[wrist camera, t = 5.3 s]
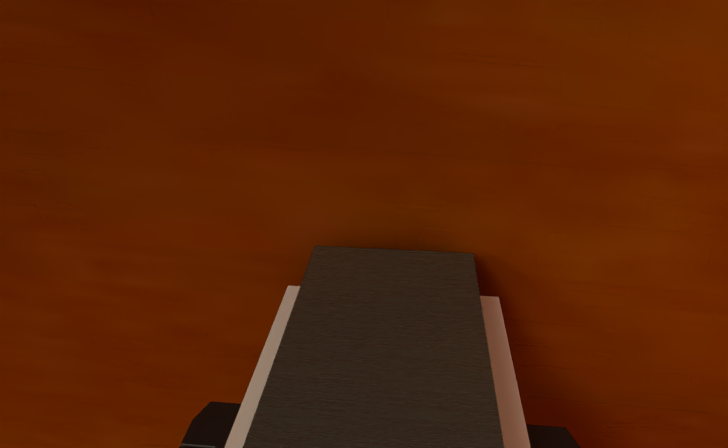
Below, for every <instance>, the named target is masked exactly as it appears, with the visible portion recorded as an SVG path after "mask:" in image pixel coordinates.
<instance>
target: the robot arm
mask: <svg viewBox="0 0 728 448" xmlns="http://www.w3.org/2000/svg"><path fill="white" fill-rule="evenodd" d="M299 289H300V286H288V287H287V289H286V292H285V295H284V297H283V300H282V302H281V305H280V307H279V310H278V312H277V315H276V318H275V320H274V323H273V325H272V328H271V330H270V333H269V335H268V338H267V340H266V343H265V346H264V348H263V351H262V353H261V356H260V358H259V361H258V363H257V366H256V368H255V371H254V374H253V376H252V379H251V381H250V384H249V386H248V389H247V391H246V394H245V396H244V399H243V402H242V404H235V403H222V402H210V403H209V404H208V405H207V406H206V407H205V408H204V409H203V410H202V411H201V412H200V413H199V414H198V415H197V416H196V417H195V418H194V419H193V420H192V422H191V424H190V426H189V428H188V430H187V433H186V435H185V437H184V439H183V441H182V445H181V447H179V448H243V445H244V442H245V440H246V437H247V434H248V431H249V428H250V426H251V423H252V420H253V417H254V414H255V412H256V409H257V406H258V403H259V400H260V398H261V395H262V392H263V389H264V386H265V384H266V381H267V378H268V375H269V372H270V370H271V367H272V364H273V361H274V359H275V356H276V353H277V350H278V347H279V345H280V342H281V339H282V336H283V333H284V331H285V328H286V325H287V322H288V319H289V317H290V314H291V311H292V308H293V305H294V303H295V300H296V297H297V294H298V291H299ZM480 299H481V305H482V311H483V318H484V324H485V330H486V336H487V343H488V349H489V355H490V361H491V368H492V374H493V380H494V386H495V393H496V399H497V405H498V411H499V418H500V424H501V430H502V436H503V443H504V448H580V446H579V445H578V444H577V443H576V441H575V440H574V439H573V437H572V436H571V435H570V433H569V432H568V431H567V429H566V428H564V427H551V426H538V425H526V423H525V419H524V414H523V409H522V404H521V400H520V395H519V390H518V386H517V381H516V376H515V371H514V367H513V362H512V357H511V353H510V348H509V343H508V338H507V334H506V329H505V324H504V319H503V315H502V310H501V305H500V301H499V297H493V296H480Z"/></svg>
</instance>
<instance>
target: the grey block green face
mask: <svg viewBox="0 0 728 448" xmlns="http://www.w3.org/2000/svg"><path fill="white" fill-rule="evenodd" d="M243 448H504V443H503V436H502V430H501V424H500V418H499V411H498V405H497V399H496V393H495V386H494V380H493V374H492V368H491V361H490V355H489V349H488V343H487V336H486V330H485V324H484V318H483V311H482V305H481V299H480V293H479V286H478V280H477V274H476V268H475V261H474V255H473V253H456V252H435V251H414V250H394V249H373V248H352V247H332V246H315V247H314V250H313V252H312V255H311V258H310V261H309V264H308V266H307V269H306V272H305V275H304V278H303V280H302V283H301V286H300V289H299V291H298V294H297V297H296V300H295V303H294V305H293V308H292V311H291V314H290V317H289V319H288V322H287V325H286V328H285V331H284V333H283V336H282V339H281V342H280V345H279V347H278V350H277V353H276V356H275V359H274V361H273V364H272V367H271V370H270V372H269V375H268V378H267V381H266V384H265V386H264V389H263V392H262V395H261V398H260V400H259V403H258V406H257V409H256V412H255V414H254V417H253V420H252V423H251V426H250V428H249V431H248V434H247V437H246V440H245V442H244V445H243Z"/></svg>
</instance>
